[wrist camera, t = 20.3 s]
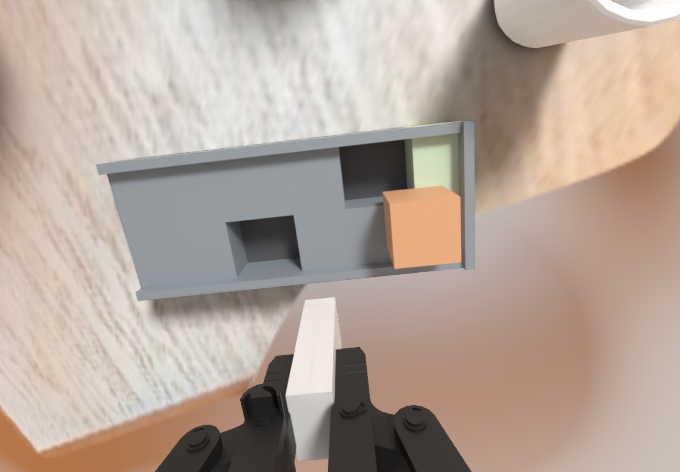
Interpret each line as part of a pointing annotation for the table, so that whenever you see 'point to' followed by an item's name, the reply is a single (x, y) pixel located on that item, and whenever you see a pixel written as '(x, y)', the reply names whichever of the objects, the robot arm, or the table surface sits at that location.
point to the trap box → (284, 208)
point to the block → (422, 226)
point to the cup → (577, 18)
